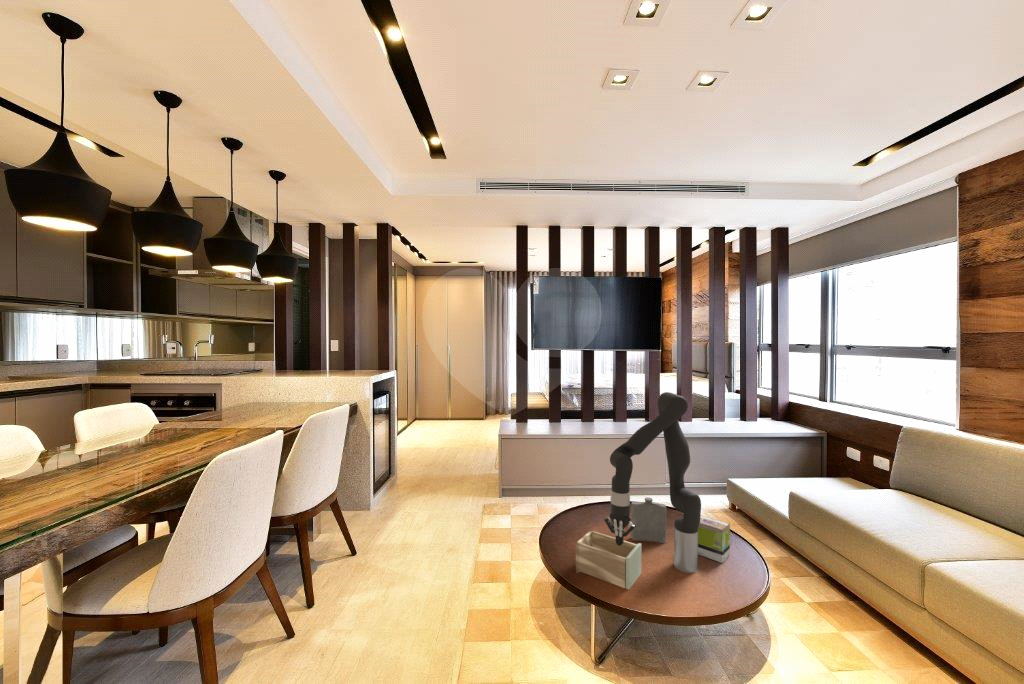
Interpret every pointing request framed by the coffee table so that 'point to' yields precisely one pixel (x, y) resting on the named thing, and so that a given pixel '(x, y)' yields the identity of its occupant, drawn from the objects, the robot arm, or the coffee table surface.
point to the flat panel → (633, 565)
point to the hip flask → (648, 521)
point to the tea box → (713, 539)
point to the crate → (603, 557)
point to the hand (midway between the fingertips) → (619, 544)
